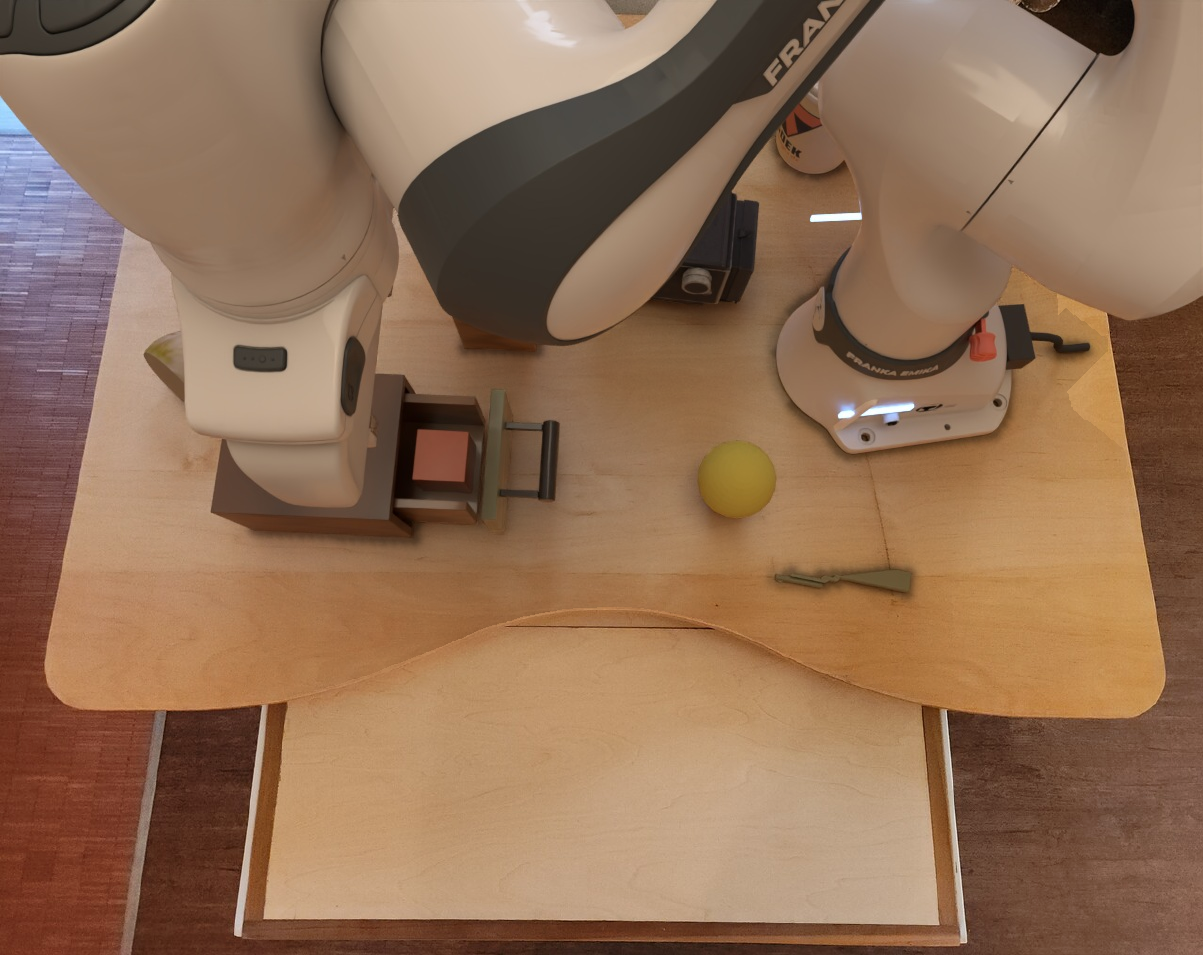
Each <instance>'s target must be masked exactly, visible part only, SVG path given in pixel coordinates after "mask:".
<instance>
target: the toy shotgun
mask: <svg viewBox="0 0 1203 955" xmlns="http://www.w3.org/2000/svg"><path fill="white" fill-rule="evenodd" d="M912 574H913V573H912V572H910V571H905V570H900V569H895V568H894V569H893V568H892V569H885V570H877V571H867V572H858V573H857V572H856V573H850V574H835V575H826V574H825V575H822V576H821V577H814V576H810V575H804V574H800V573H794V572H793V573H791V574H789V575H784V574H779V573H775V575H774V580H776V581H777V582H778V583H779V584H781V583H784V582H787V583H790V584H797V585H801V586H806V587H810V588H811V587H812V588H815V589H822V588H823V587H824V584H826V583H837V582H839V581H840V580H841V581H844V582H845V581H846V582H849V583H855V584H861V585H866V586H869V587H875V588H880V589H886V590H890V591H895V592H899V593H905V594H907V593H910V591H911V583H912Z"/></svg>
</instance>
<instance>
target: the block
mask: <svg viewBox="0 0 1203 955" xmlns="http://www.w3.org/2000/svg"><path fill="white" fill-rule="evenodd" d="M475 453H476V445H475V443H474V441H473V439H472V437H471V435H470V433H469V432H462V431H442V430H422V429H418V430H417V439H416V448H415V458H414V468H413V477H412V479H413V481H414V482H415V483H416V484H417V485H418V486H419V487H420V488H421V489H422V490H423V491H442V492H462V493H472V487H473V476H474V464H475Z"/></svg>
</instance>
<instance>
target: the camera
mask: <svg viewBox="0 0 1203 955" xmlns="http://www.w3.org/2000/svg"><path fill="white" fill-rule="evenodd" d="M759 211H760V202H759V201H757V200H751V199H744V200H740V199H738V194H737V193H733V191H732V192H731V193H730V195H729V196H728V198H727V199H726V201H725V203H724V204H723V206H722V207H721V209H720V210H719V212H718V213H717V215H716V216H715V218H714V219H713V221H712V222H711V224H710V226H709V227H708V229H707V230H706V232H705V233H704V234H703V236H702V237H701V239H700V240H699V242H698V243H697V245H696V246H695V248H694V249H693V250H692V252H691V253H690V254H689V256H688V257H687V258H686V260H685V261H684V262H683V264H682V265H681V266H680V267H679V269H678V270H677V271H676V272H675V273H674V275H673V276H672V277H671V278H670V279H669V280H668V281H667V282H666V283H665V285H664V286H663V287H662V288H661V289H660V290H659V291H658V292H657V293H656V294H655V295H654V296H653V297H652V298H651V299H650V300H651V301H659V302H669V303H676V304H684V305H695V306H703V305H705V304H712V305H717V304H719V302H720V303H733V302H734V304H735V305H737V303H739V302H740V301H741V299H742V296H743V294H744V292H745V290H746V288H747V286H748V284H749V281H750V280H751V277H752V275H753V274H754V270H755V263H756V250H757V238H758V226H759V224H758V223H759V213H760V212H759ZM650 300H649V301H650Z"/></svg>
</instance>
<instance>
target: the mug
mask: <svg viewBox="0 0 1203 955" xmlns="http://www.w3.org/2000/svg"><path fill="white" fill-rule="evenodd" d="M143 357H144V360H145V361H146V363H147V365H148V366H149V367H150V369H151V371H153V373H154V374H155V375H156V376H157V377H158V378H159V380H160V381H161V382H162V383H163V384H164V385H165V386H166V387H167V388H168V389H169V390H170V391H171V392H172V393H174V395H176V396H177V397H178V398H179V399H180V400H181V401H182V402H184V403H185V388H184V359H183V345H182V336H181V330H177V331H174V332H171V333H167V334H165V335H163V336H161V337H159V338H157V339H156V340H154V341H153V342H152V343H150V345H149V346H147V348H146V349H145V351H144V352H143Z"/></svg>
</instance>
